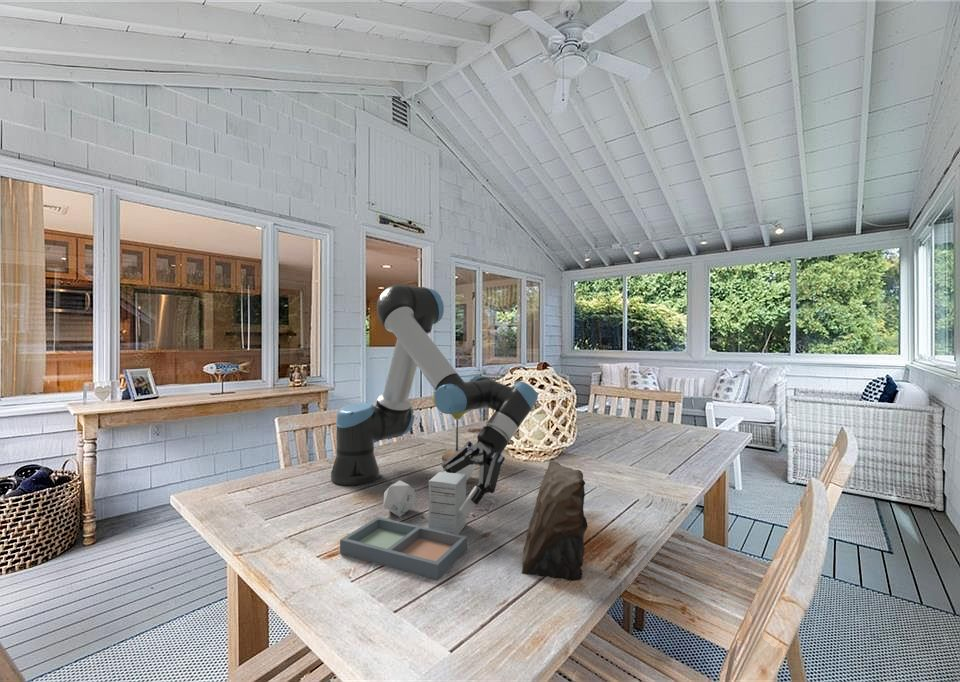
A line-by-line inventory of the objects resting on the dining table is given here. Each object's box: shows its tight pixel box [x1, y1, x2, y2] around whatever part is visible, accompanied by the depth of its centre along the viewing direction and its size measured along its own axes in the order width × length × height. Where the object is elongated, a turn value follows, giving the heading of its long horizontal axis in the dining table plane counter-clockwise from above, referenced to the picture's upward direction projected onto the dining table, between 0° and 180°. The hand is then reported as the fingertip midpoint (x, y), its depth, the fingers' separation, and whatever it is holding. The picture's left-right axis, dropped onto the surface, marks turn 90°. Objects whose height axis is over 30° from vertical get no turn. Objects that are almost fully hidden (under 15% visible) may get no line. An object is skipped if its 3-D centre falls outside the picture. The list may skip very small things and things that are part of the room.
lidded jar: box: [441, 449, 476, 482], centre depth 144 cm, size 11×11×9 cm
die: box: [383, 479, 417, 518], centre depth 117 cm, size 8×9×10 cm
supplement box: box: [428, 471, 467, 535], centre depth 108 cm, size 7×7×13 cm
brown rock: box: [521, 460, 589, 582], centre depth 91 cm, size 13×13×20 cm
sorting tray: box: [339, 516, 468, 581], centre depth 96 cm, size 24×13×3 cm, turn 66°
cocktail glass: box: [432, 391, 471, 452], centre depth 166 cm, size 18×18×25 cm
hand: (447, 504), depth 107 cm, fingers open, 13 cm apart
